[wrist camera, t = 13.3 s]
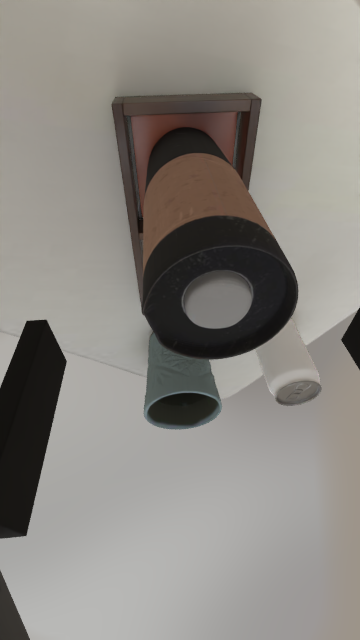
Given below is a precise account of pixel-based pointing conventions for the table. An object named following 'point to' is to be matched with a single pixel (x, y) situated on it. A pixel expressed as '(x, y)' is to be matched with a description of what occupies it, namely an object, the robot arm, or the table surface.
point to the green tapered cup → (179, 390)
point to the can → (289, 367)
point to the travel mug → (209, 254)
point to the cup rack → (171, 113)
